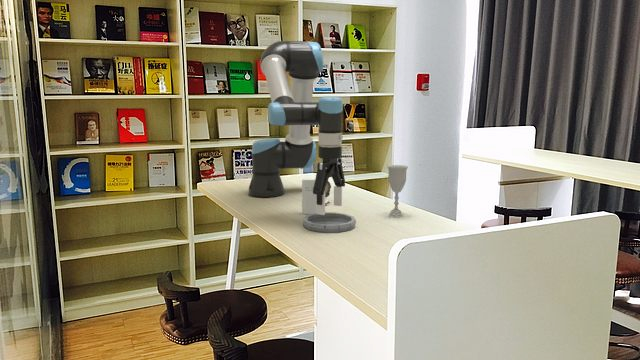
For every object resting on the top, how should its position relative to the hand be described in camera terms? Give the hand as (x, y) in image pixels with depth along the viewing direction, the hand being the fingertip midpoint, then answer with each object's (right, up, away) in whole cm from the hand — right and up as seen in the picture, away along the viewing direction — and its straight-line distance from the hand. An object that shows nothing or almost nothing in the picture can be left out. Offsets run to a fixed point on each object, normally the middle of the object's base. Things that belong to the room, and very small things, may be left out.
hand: (329, 209), depth 175 cm
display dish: (0, -5, +1) cm, 5 cm away
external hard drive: (-5, -3, +17) cm, 18 cm away
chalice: (+24, -3, +14) cm, 28 cm away
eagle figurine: (-2, 0, +33) cm, 33 cm away
